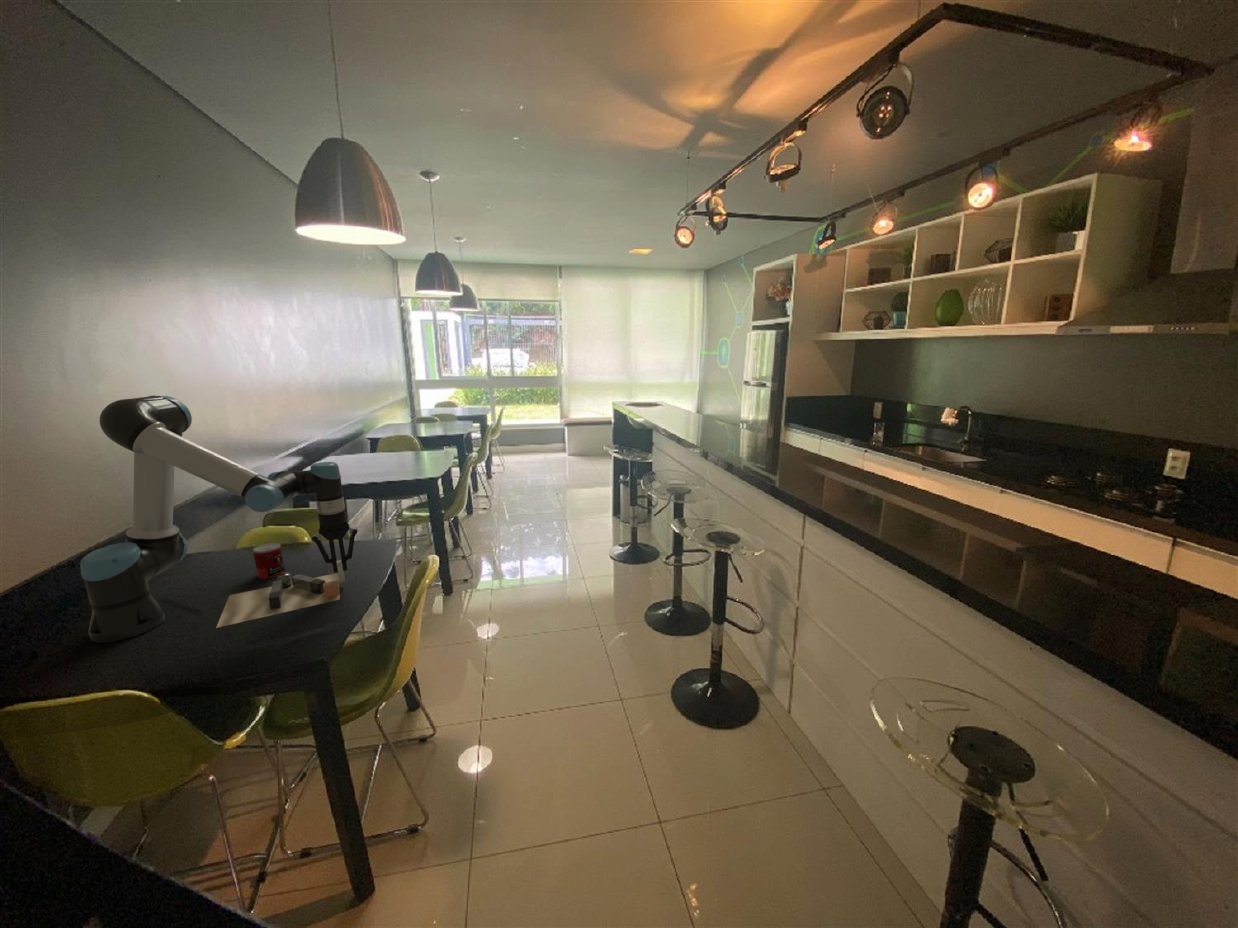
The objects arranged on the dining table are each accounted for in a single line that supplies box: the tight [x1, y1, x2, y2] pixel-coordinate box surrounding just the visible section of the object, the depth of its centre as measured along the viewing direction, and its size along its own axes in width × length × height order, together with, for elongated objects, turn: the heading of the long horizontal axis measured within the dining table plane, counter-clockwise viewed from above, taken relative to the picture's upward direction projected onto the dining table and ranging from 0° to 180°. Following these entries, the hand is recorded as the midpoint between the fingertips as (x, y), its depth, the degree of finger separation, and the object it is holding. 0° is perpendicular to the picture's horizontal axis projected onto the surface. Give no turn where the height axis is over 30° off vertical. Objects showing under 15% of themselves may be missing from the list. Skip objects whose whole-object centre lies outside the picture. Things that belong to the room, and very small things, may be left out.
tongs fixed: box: [269, 571, 293, 609], centre depth 152 cm, size 18×5×4 cm, turn 30°
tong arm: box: [291, 573, 325, 595], centre depth 156 cm, size 13×2×4 cm, turn 65°
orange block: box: [323, 580, 341, 597], centre depth 153 cm, size 4×3×4 cm
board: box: [215, 572, 341, 629], centre depth 151 cm, size 30×22×1 cm
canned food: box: [252, 542, 286, 580], centre depth 167 cm, size 8×8×11 cm
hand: (342, 580), depth 158 cm, fingers closed
